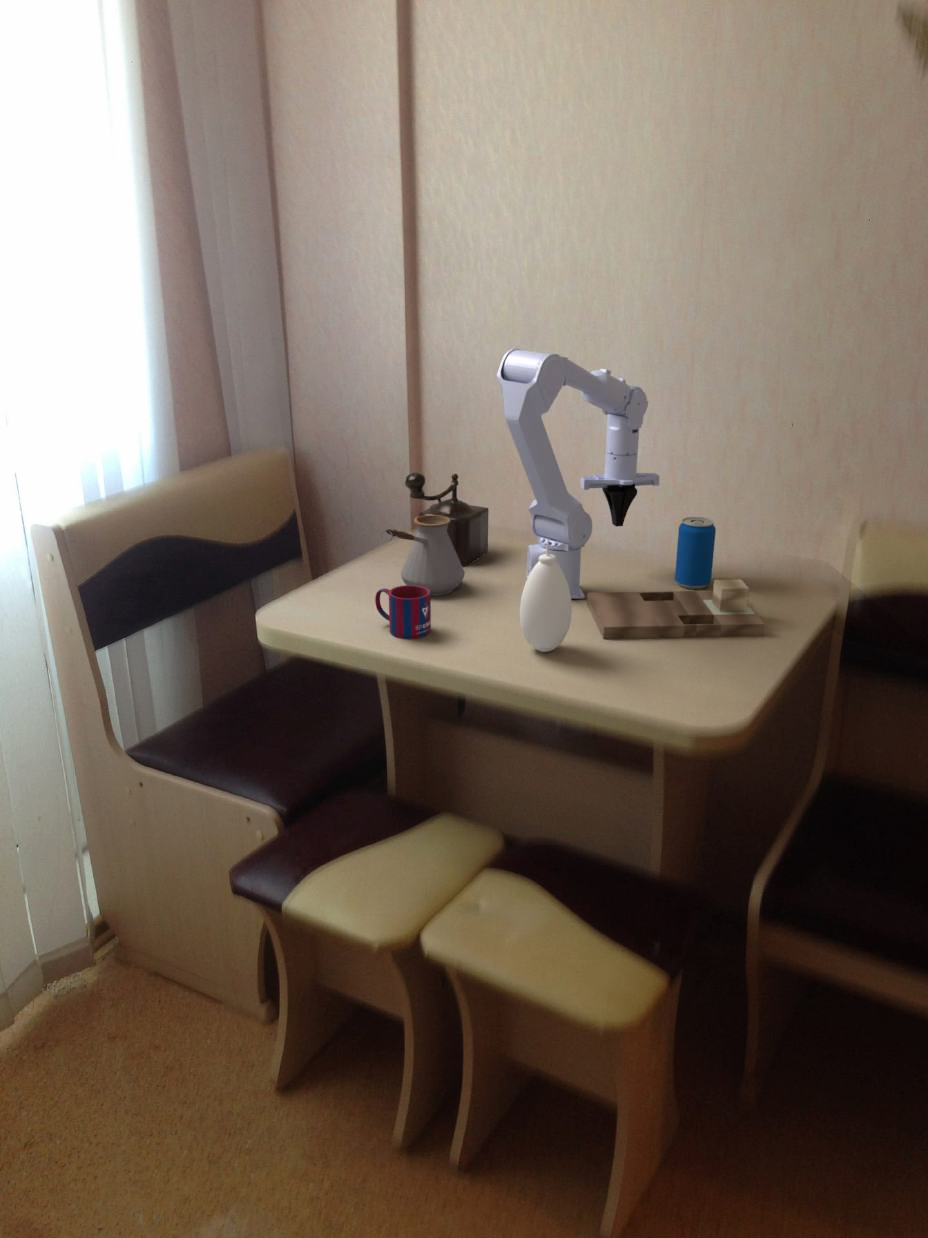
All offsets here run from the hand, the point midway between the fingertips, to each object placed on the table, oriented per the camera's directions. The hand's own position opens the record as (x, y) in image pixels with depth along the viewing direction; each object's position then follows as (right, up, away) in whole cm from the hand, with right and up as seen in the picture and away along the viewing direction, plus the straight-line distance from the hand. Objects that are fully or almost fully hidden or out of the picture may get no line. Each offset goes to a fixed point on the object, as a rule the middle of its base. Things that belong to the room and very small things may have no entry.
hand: (617, 524), depth 199 cm
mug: (-38, -19, -23) cm, 49 cm away
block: (+16, -15, -19) cm, 29 cm away
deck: (+6, -17, -19) cm, 26 cm away
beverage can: (+13, -11, -2) cm, 18 cm away
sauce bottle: (-16, -22, -31) cm, 41 cm away
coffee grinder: (-32, -6, +11) cm, 34 cm away
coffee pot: (-36, -14, -9) cm, 40 cm away
